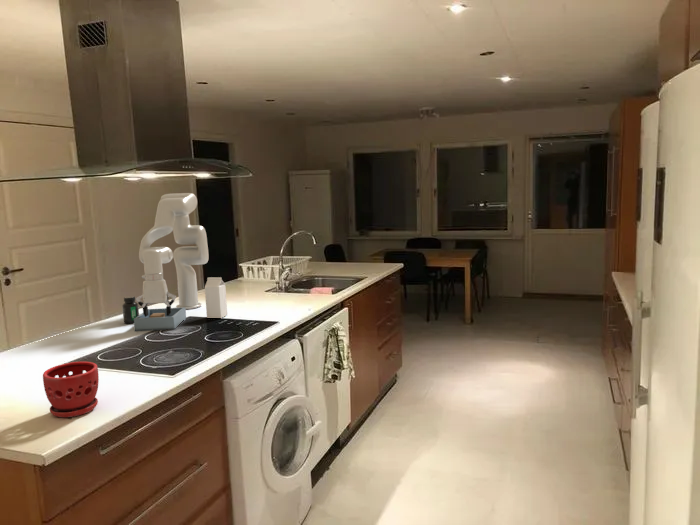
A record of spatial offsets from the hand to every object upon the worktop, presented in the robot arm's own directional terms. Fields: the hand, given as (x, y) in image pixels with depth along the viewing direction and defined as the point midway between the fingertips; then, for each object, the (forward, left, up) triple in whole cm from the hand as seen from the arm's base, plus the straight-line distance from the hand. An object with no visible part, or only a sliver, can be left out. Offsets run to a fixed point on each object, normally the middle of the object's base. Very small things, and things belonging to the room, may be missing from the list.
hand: (157, 315), depth 238 cm
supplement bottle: (-13, -16, -5) cm, 21 cm away
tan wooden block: (0, 0, -4) cm, 4 cm away
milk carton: (-15, +23, -5) cm, 28 cm away
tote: (-5, 0, -5) cm, 7 cm away
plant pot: (+94, +6, -6) cm, 95 cm away
